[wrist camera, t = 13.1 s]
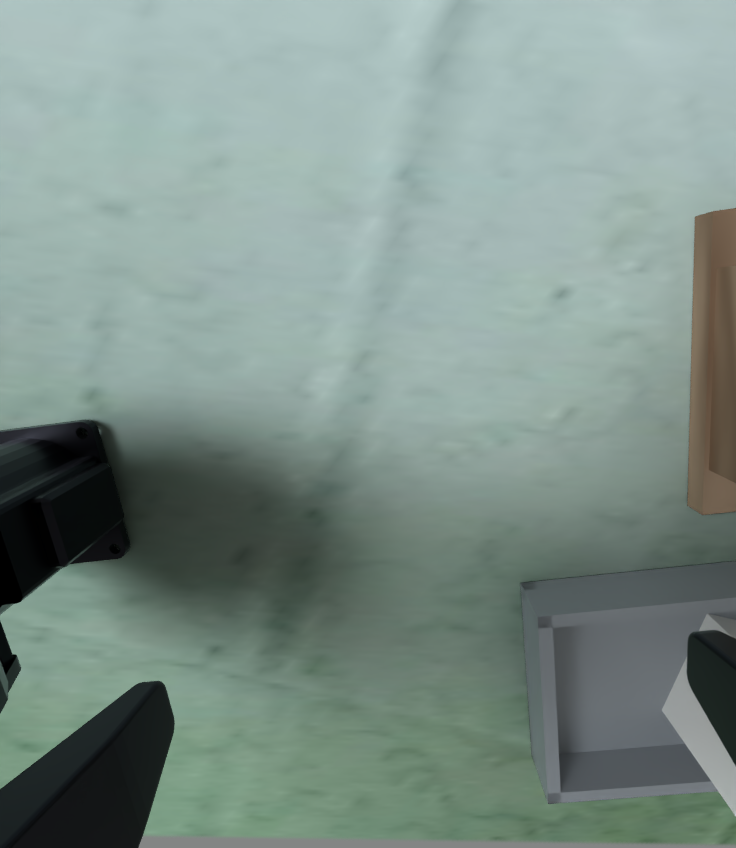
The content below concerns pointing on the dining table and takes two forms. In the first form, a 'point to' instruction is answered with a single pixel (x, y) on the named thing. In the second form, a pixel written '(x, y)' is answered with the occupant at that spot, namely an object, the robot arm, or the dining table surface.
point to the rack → (713, 366)
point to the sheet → (703, 724)
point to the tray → (615, 678)
